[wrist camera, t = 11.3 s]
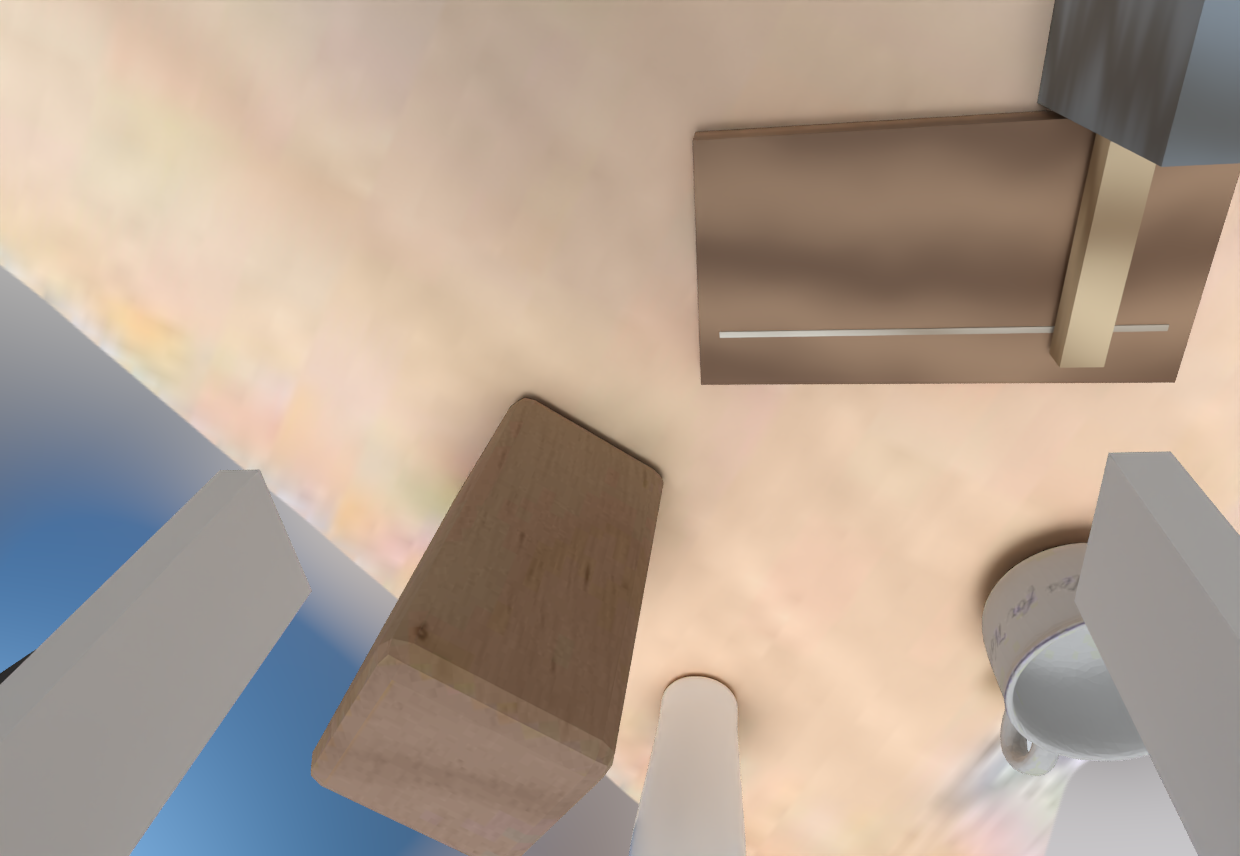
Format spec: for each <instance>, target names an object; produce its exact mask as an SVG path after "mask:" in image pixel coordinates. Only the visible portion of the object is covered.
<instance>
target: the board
mask: <svg viewBox="0 0 1240 856" xmlns="http://www.w3.org/2000/svg"><path fill="white" fill-rule="evenodd" d="M1095 137H1096V133H1095V132H1093V131H1091V130H1089V129H1087V128H1085V127H1083V126H1081V125H1079V124H1077V123H1075V122H1073V121H1072V120H1070V119H1068V118H1066V117H1064V116H1062V115H1060V114H1058V113H1056V112H1054V111H1035V112H1019V113H1002V114H985V115H969V116H952V117H936V118H919V119H902V120H886V121H869V122H853V123H836V124H819V125H803V126H786V127H770V128H753V129H737V130H720V131H703V132H696V133H695V135H694V138H693V165H694V194H695V223H696V252H697V280H698V309H699V338H700V367H701V385H729V384H941V383H1152V382H1175V380H1176V377H1177V374H1178V371H1179V367H1180V364H1181V361H1182V358H1183V354H1184V351H1185V348H1186V345H1187V342H1188V338H1189V335H1190V332H1191V329H1192V325H1193V322H1194V319H1195V316H1196V312H1197V309H1198V306H1199V303H1200V300H1201V296H1202V293H1203V290H1204V287H1205V283H1206V280H1207V277H1208V274H1209V271H1210V267H1211V264H1212V261H1213V258H1214V254H1215V251H1216V248H1217V245H1218V241H1219V238H1220V235H1221V232H1222V229H1223V225H1224V222H1225V219H1226V216H1227V212H1228V209H1229V206H1230V203H1231V200H1232V196H1233V193H1234V190H1235V187H1236V183H1237V180H1238V177H1239V174H1240V163H1235V164H1214V165H1193V166H1171V167H1160V166H1159V165H1157V164H1156V166H1155V170H1154V174H1153V178H1152V182H1151V186H1150V190H1149V193H1148V197H1147V201H1146V205H1145V209H1144V213H1143V217H1142V221H1141V225H1140V229H1139V232H1138V236H1137V240H1136V244H1135V248H1134V252H1133V256H1132V260H1131V264H1130V267H1129V271H1128V275H1127V279H1126V283H1125V287H1124V291H1123V295H1122V299H1121V302H1120V306H1119V310H1118V314H1117V318H1116V322H1115V326H1114V330H1113V334H1112V337H1111V341H1110V345H1109V349H1108V353H1107V357H1106V361H1105V365H1104V367H1078V368H1060V367H1059V366H1058V365H1057V363H1056V362H1055V361H1054V359H1053V358H1052V357H1051V355H1050V354H1049V351H1050V346H1051V341H1052V337H1053V332H1054V327H1055V323H1056V318H1057V313H1058V309H1059V304H1060V299H1061V295H1062V290H1063V285H1064V281H1065V276H1066V272H1067V267H1068V262H1069V258H1070V253H1071V248H1072V244H1073V239H1074V234H1075V230H1076V225H1077V220H1078V216H1079V211H1080V206H1081V202H1082V197H1083V193H1084V188H1085V183H1086V179H1087V174H1088V169H1089V165H1090V160H1091V155H1092V151H1093V146H1094V141H1095Z"/></svg>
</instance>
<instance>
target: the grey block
mask: <svg viewBox="0 0 1240 856" xmlns="http://www.w3.org/2000/svg"><path fill="white" fill-rule="evenodd" d="M1037 103H1039V104H1041V105H1043V106H1044V107H1046V108H1048V109H1050V110H1052V111H1054V112H1056V113H1058V114H1060V115H1062V116H1064V117H1066V118H1068V119H1070V120H1072V121H1073V122H1075V123H1077V124H1079V125H1081V126H1083V127H1085V128H1087V129H1089V130H1091V131H1093V132H1095V133H1096V137H1095V141H1094V146H1093V151H1092V155H1091V160H1090V165H1089V169H1088V174H1087V179H1086V183H1085V188H1084V193H1083V197H1082V202H1081V206H1080V211H1079V216H1078V220H1077V225H1076V230H1075V234H1074V239H1073V244H1072V248H1071V253H1070V258H1069V262H1068V267H1067V272H1066V276H1065V281H1064V285H1063V290H1062V295H1061V299H1060V304H1059V309H1058V313H1057V318H1056V323H1055V327H1054V332H1053V337H1052V341H1051V346H1050V351H1049V354H1050V355H1051V357H1052V358H1053V359H1054V361H1055V362H1056V363H1057V365H1058V366H1059V367H1060V368H1078V367H1104V365H1105V361H1106V357H1107V353H1108V349H1109V345H1110V341H1111V337H1112V334H1113V330H1114V326H1115V322H1116V318H1117V314H1118V310H1119V306H1120V302H1121V299H1122V295H1123V291H1124V287H1125V283H1126V279H1127V275H1128V271H1129V267H1130V264H1131V260H1132V256H1133V252H1134V248H1135V244H1136V240H1137V236H1138V232H1139V229H1140V225H1141V221H1142V217H1143V213H1144V209H1145V205H1146V201H1147V197H1148V193H1149V190H1150V186H1151V182H1152V178H1153V174H1154V170H1155V166H1156V164H1157V165H1159V166H1160V167H1171V166H1193V165H1214V164H1235V163H1240V0H1055V4H1054V10H1053V15H1052V21H1051V27H1050V32H1049V38H1048V44H1047V50H1046V55H1045V61H1044V67H1043V72H1042V78H1041V84H1040V89H1039V95H1038V101H1037Z"/></svg>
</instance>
